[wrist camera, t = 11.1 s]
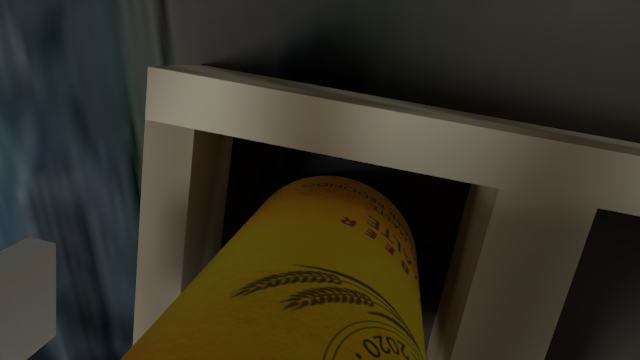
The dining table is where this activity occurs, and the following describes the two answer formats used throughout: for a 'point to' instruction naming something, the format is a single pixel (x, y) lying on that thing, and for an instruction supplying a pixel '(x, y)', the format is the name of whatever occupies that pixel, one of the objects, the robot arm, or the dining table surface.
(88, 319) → the dining table surface
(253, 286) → the beer can
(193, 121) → the socket board
